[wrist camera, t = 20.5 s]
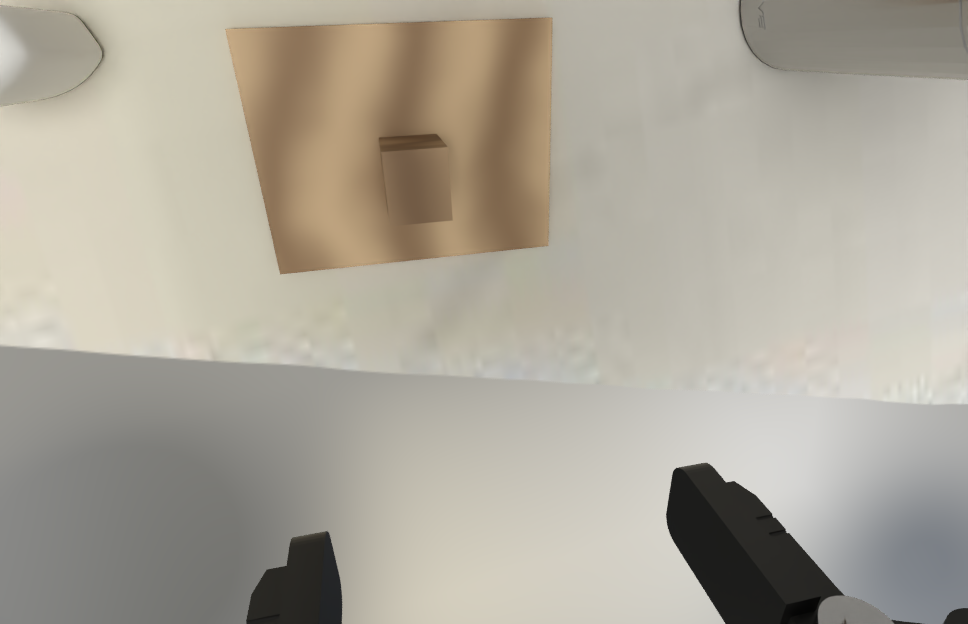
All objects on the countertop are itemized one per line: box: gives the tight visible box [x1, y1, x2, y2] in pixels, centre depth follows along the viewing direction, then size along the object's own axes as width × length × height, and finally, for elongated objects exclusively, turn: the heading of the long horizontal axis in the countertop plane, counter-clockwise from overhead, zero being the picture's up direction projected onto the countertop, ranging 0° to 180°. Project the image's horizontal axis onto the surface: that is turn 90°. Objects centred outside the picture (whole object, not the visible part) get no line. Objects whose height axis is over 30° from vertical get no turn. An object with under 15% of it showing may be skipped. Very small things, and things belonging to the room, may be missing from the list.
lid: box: [225, 18, 552, 274], centre depth 31 cm, size 18×14×6 cm
